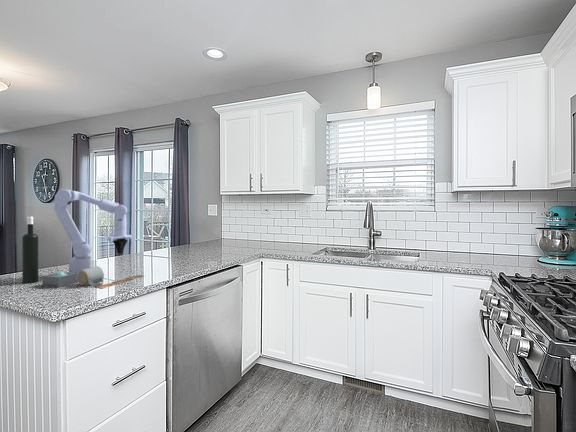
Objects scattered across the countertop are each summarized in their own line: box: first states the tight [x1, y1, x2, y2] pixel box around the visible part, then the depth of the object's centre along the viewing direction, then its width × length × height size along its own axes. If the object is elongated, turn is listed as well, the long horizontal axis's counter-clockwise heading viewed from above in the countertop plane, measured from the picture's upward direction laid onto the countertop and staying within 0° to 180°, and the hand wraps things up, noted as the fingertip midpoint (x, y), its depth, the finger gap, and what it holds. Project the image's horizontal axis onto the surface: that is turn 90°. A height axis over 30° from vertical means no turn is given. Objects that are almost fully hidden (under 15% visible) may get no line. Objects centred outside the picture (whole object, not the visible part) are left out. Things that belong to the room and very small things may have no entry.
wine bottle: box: [21, 216, 39, 284], centre depth 148 cm, size 6×6×30 cm
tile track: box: [94, 274, 145, 289], centre depth 153 cm, size 4×26×1 cm, turn 165°
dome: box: [52, 270, 68, 277], centre depth 145 cm, size 6×6×4 cm
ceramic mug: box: [77, 265, 105, 287], centre depth 146 cm, size 11×8×8 cm
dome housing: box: [41, 271, 78, 289], centre depth 145 cm, size 9×9×4 cm
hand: (120, 253), depth 171 cm, fingers closed
